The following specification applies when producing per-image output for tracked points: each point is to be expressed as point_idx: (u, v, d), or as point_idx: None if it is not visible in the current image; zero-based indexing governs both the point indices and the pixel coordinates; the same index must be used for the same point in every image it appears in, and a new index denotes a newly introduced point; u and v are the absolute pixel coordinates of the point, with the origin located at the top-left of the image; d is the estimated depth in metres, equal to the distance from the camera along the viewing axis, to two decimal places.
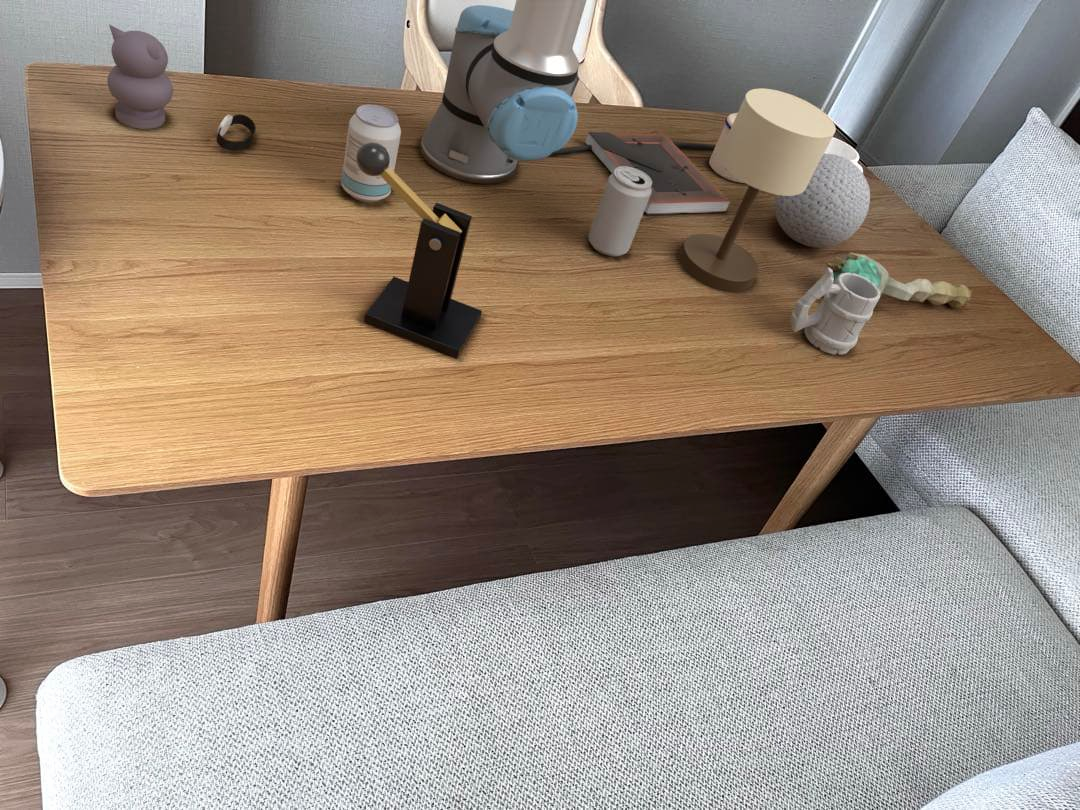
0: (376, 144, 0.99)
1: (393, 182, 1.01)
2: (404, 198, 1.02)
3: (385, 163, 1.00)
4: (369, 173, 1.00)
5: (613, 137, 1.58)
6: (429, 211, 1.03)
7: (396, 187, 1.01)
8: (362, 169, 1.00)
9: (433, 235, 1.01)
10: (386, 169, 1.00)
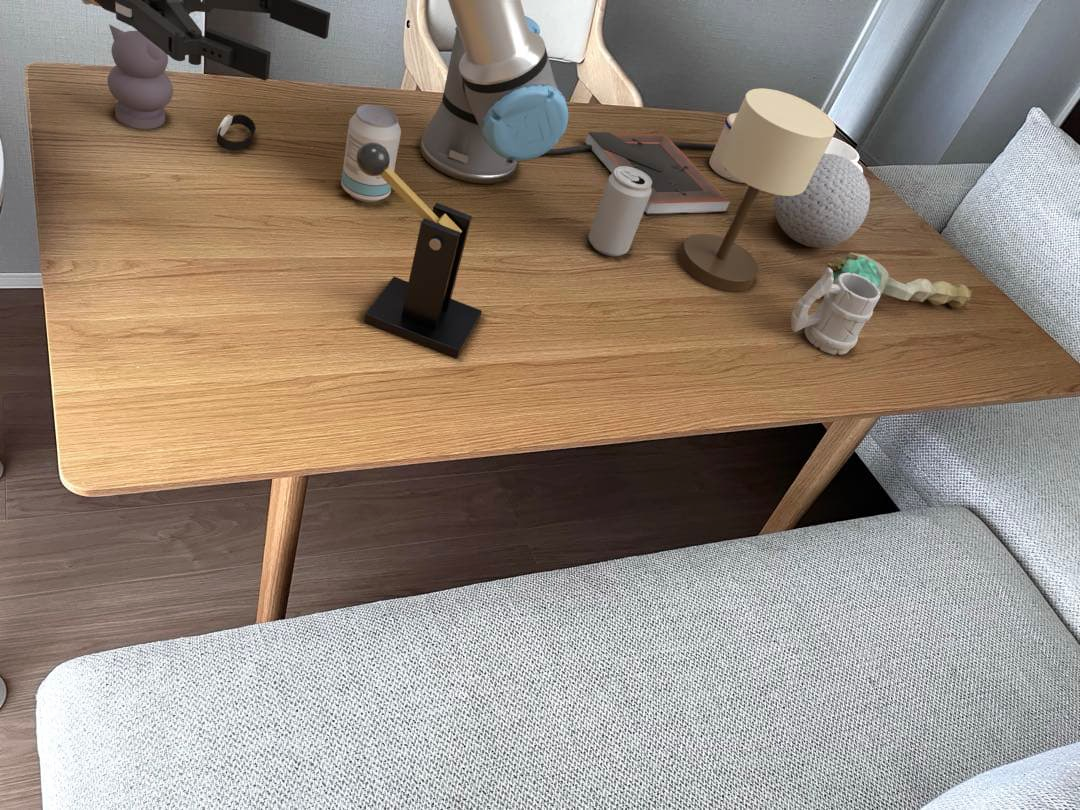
0: (376, 144, 0.99)
1: (393, 182, 1.01)
2: (404, 198, 1.02)
3: (385, 163, 1.00)
4: (369, 173, 1.00)
5: (613, 137, 1.58)
6: (429, 211, 1.03)
7: (396, 187, 1.01)
8: (362, 169, 1.00)
9: (433, 235, 1.01)
10: (386, 169, 1.00)
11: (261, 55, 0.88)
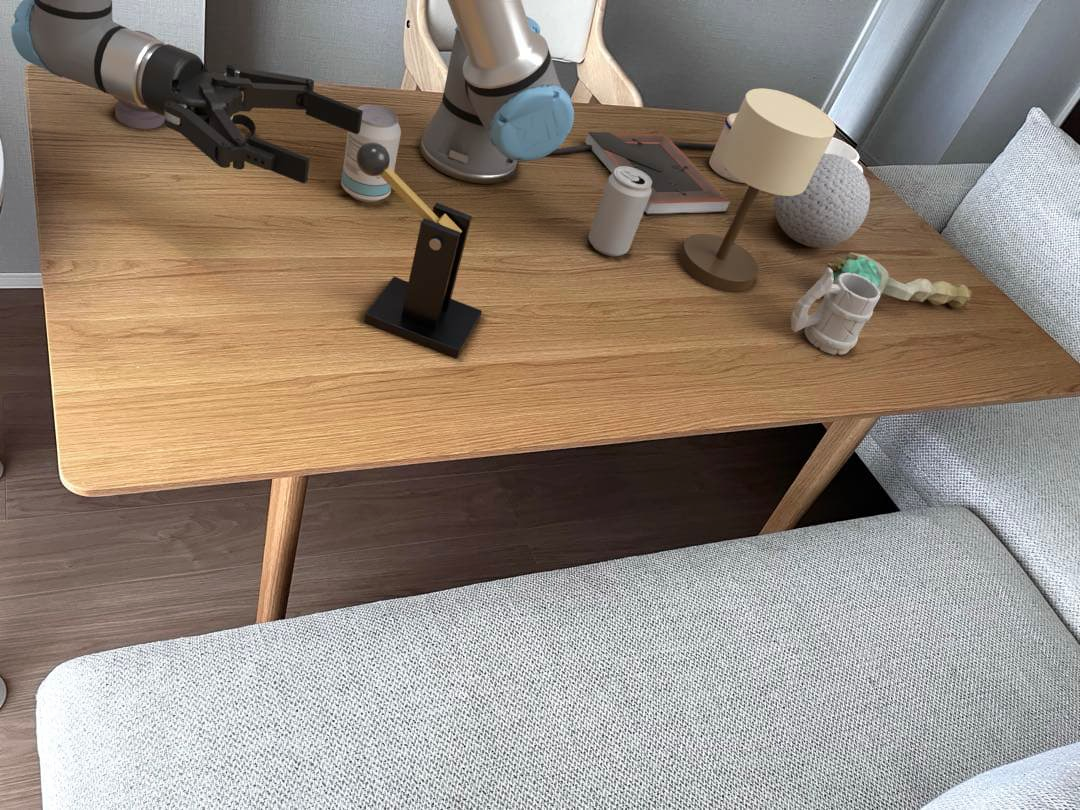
0: (376, 144, 0.99)
1: (393, 182, 1.01)
2: (404, 198, 1.02)
3: (385, 163, 1.00)
4: (369, 173, 1.00)
5: (613, 137, 1.58)
6: (429, 211, 1.03)
7: (396, 187, 1.01)
8: (362, 169, 1.00)
9: (433, 235, 1.01)
10: (386, 169, 1.00)
11: (301, 161, 0.94)
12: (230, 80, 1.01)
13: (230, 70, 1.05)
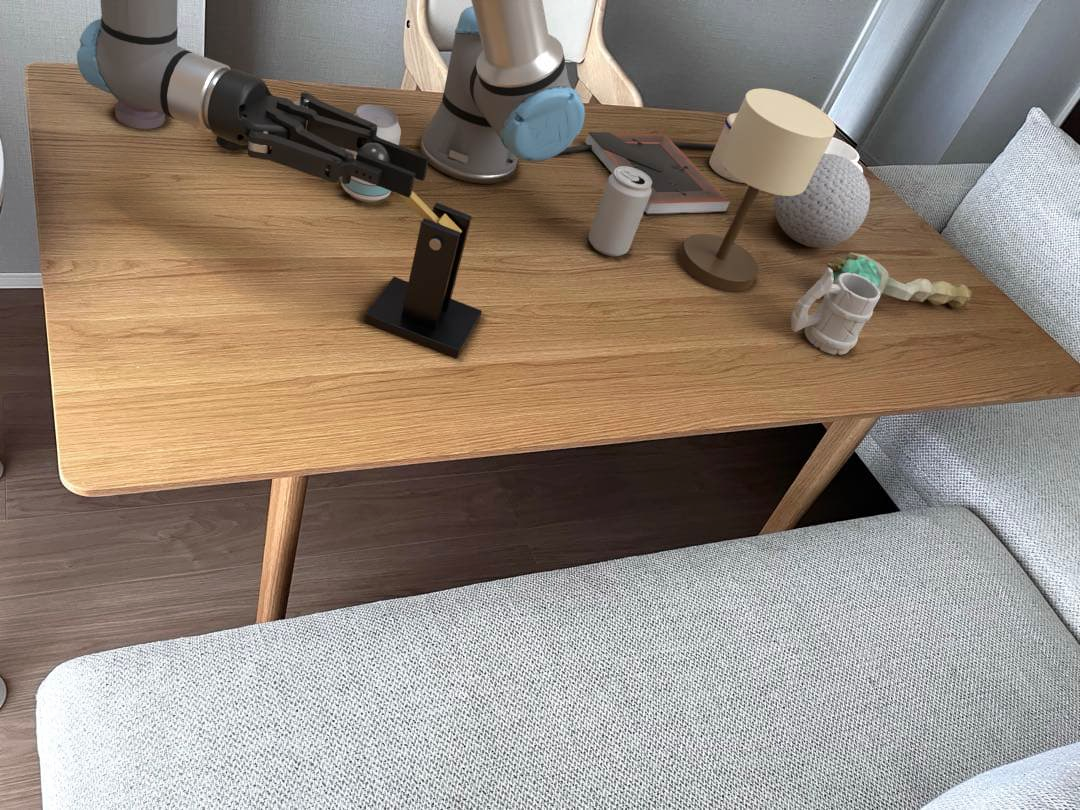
0: (376, 144, 0.99)
1: None
2: (404, 198, 1.02)
3: None
4: None
5: (613, 137, 1.58)
6: (429, 211, 1.03)
7: None
8: None
9: (433, 235, 1.01)
10: None
11: (408, 176, 0.98)
12: (295, 104, 1.01)
13: (302, 98, 1.04)
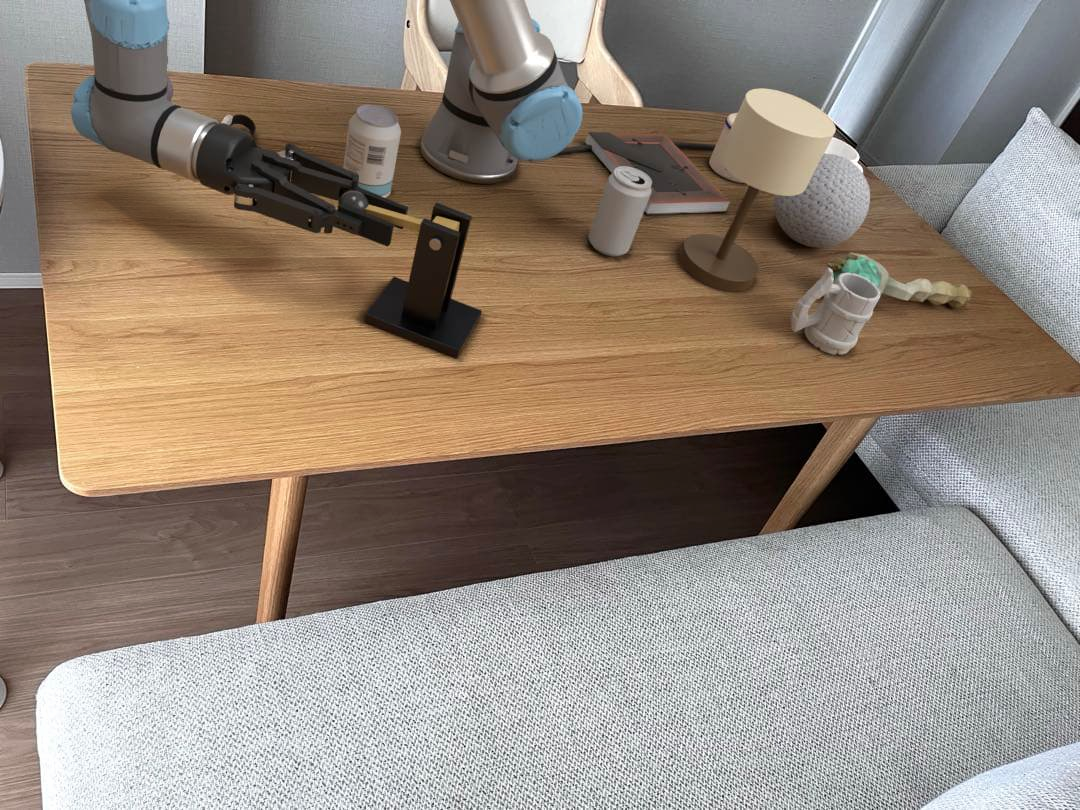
0: (347, 191, 1.04)
1: (378, 214, 1.04)
2: (394, 223, 1.04)
3: (361, 202, 1.03)
4: None
5: (613, 137, 1.58)
6: (421, 221, 1.04)
7: (382, 217, 1.04)
8: None
9: (433, 235, 1.01)
10: (366, 207, 1.04)
11: (387, 227, 1.02)
12: (280, 156, 1.06)
13: (287, 149, 1.09)
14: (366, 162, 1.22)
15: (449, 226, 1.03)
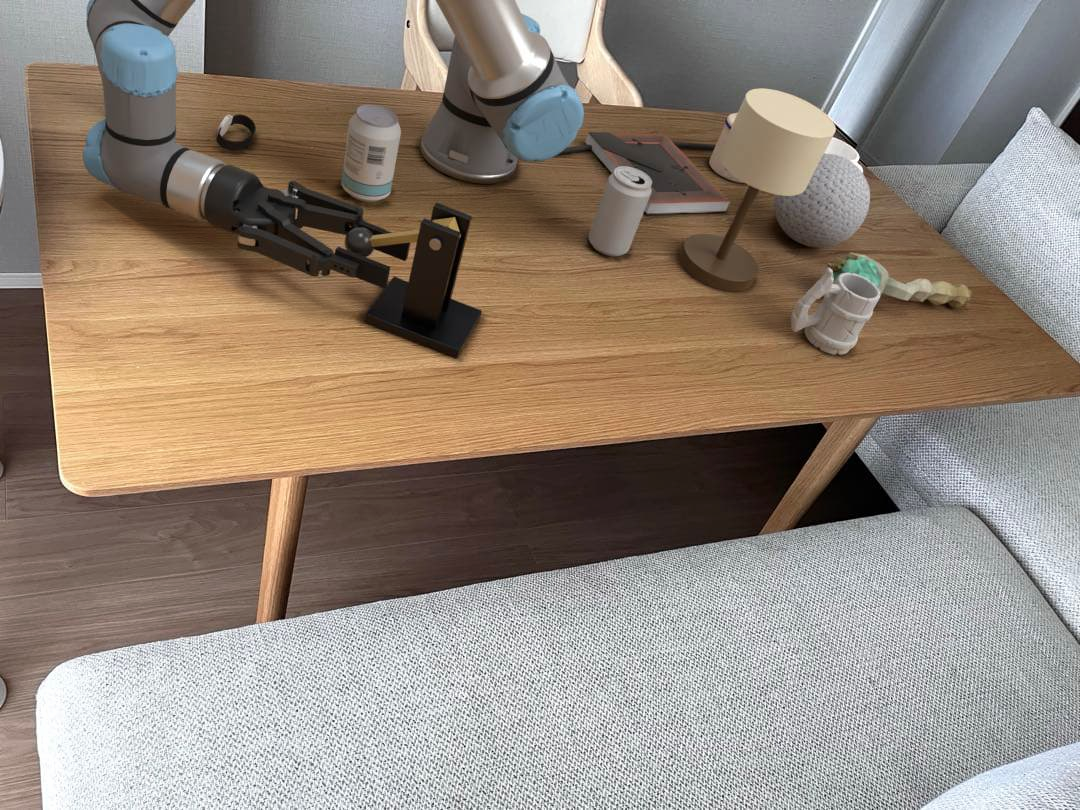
0: (349, 231, 1.07)
1: (381, 240, 1.06)
2: (398, 242, 1.06)
3: (363, 234, 1.06)
4: (362, 252, 1.07)
5: (613, 137, 1.58)
6: None
7: (386, 241, 1.06)
8: None
9: (433, 235, 1.01)
10: (370, 238, 1.07)
11: (383, 270, 1.05)
12: (285, 196, 1.09)
13: (290, 187, 1.12)
14: (366, 162, 1.22)
15: (444, 223, 1.03)
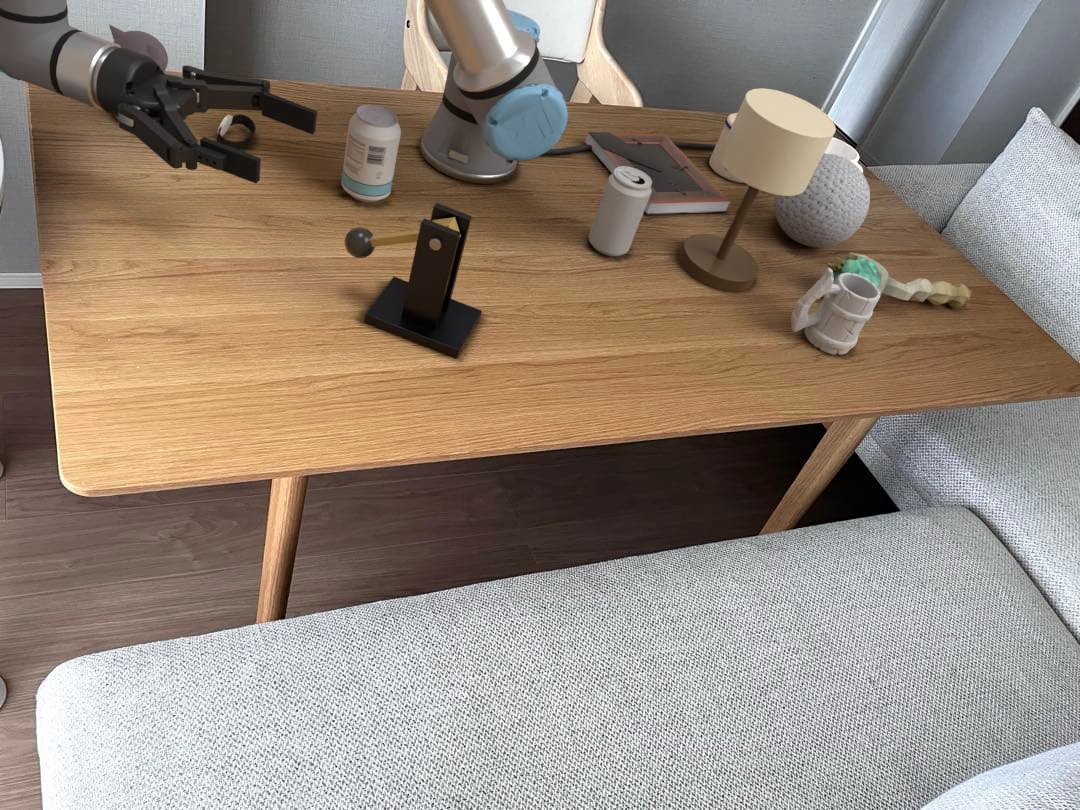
0: (349, 231, 1.07)
1: (381, 240, 1.06)
2: (398, 242, 1.06)
3: (363, 234, 1.06)
4: (362, 252, 1.07)
5: (613, 137, 1.58)
6: None
7: (386, 241, 1.06)
8: (357, 255, 1.07)
9: (433, 235, 1.01)
10: (370, 238, 1.07)
11: (252, 161, 0.96)
12: (185, 82, 1.03)
13: (186, 72, 1.06)
14: (366, 162, 1.22)
15: (444, 223, 1.03)
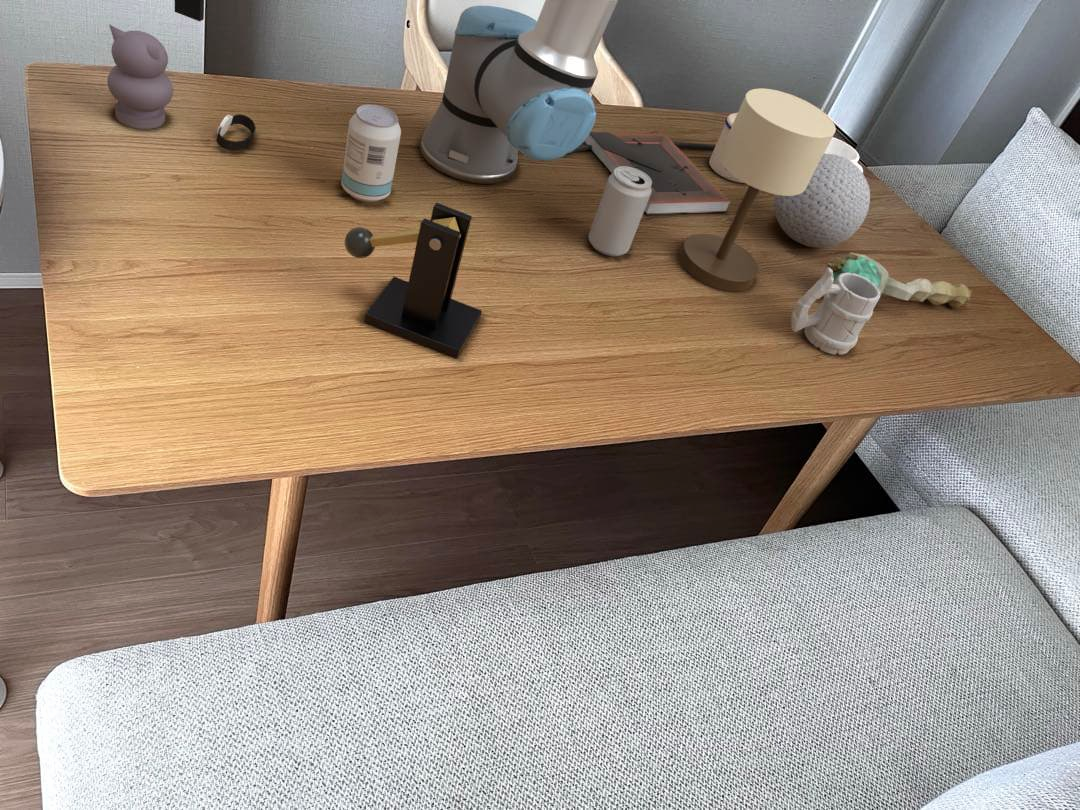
0: (349, 231, 1.07)
1: (381, 240, 1.06)
2: (398, 242, 1.06)
3: (363, 234, 1.06)
4: (362, 252, 1.07)
5: (613, 137, 1.58)
6: None
7: (386, 241, 1.06)
8: (357, 255, 1.07)
9: (433, 235, 1.01)
10: (370, 238, 1.07)
11: (197, 15, 0.90)
12: None
13: None
14: (366, 162, 1.22)
15: (444, 223, 1.03)
